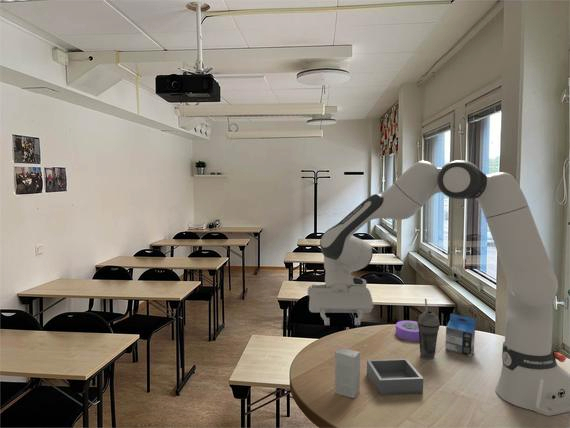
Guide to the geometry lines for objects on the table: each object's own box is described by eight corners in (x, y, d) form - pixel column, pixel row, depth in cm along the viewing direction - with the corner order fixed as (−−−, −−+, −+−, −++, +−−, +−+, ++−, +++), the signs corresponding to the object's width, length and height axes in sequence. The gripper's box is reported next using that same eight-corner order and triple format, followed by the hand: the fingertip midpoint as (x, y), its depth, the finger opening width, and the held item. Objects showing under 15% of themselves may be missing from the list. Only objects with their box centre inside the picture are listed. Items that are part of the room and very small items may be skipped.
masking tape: (433, 337, 156) (434, 327, 155) (412, 343, 150) (412, 333, 149) (410, 327, 166) (410, 318, 165) (389, 333, 160) (389, 323, 160)
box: (406, 372, 127) (406, 358, 127) (423, 393, 115) (423, 378, 114) (366, 374, 126) (367, 360, 126) (379, 395, 114) (379, 380, 113)
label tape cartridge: (444, 349, 144) (445, 315, 143) (448, 346, 147) (449, 313, 146) (470, 356, 138) (472, 321, 137) (474, 353, 141) (475, 318, 140)
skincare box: (360, 392, 115) (360, 351, 114) (354, 399, 112) (354, 357, 111) (340, 386, 119) (341, 346, 117) (334, 393, 115) (334, 352, 114)
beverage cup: (440, 361, 134) (442, 303, 133) (417, 359, 136) (419, 301, 134) (436, 352, 142) (438, 296, 140) (415, 350, 143) (416, 295, 141)
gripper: (307, 280, 131) (309, 319, 123) (370, 280, 131) (376, 320, 122) (307, 289, 136) (308, 328, 127) (367, 289, 136) (373, 328, 127)
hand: (342, 324), depth 125 cm, fingers open, 8 cm apart
